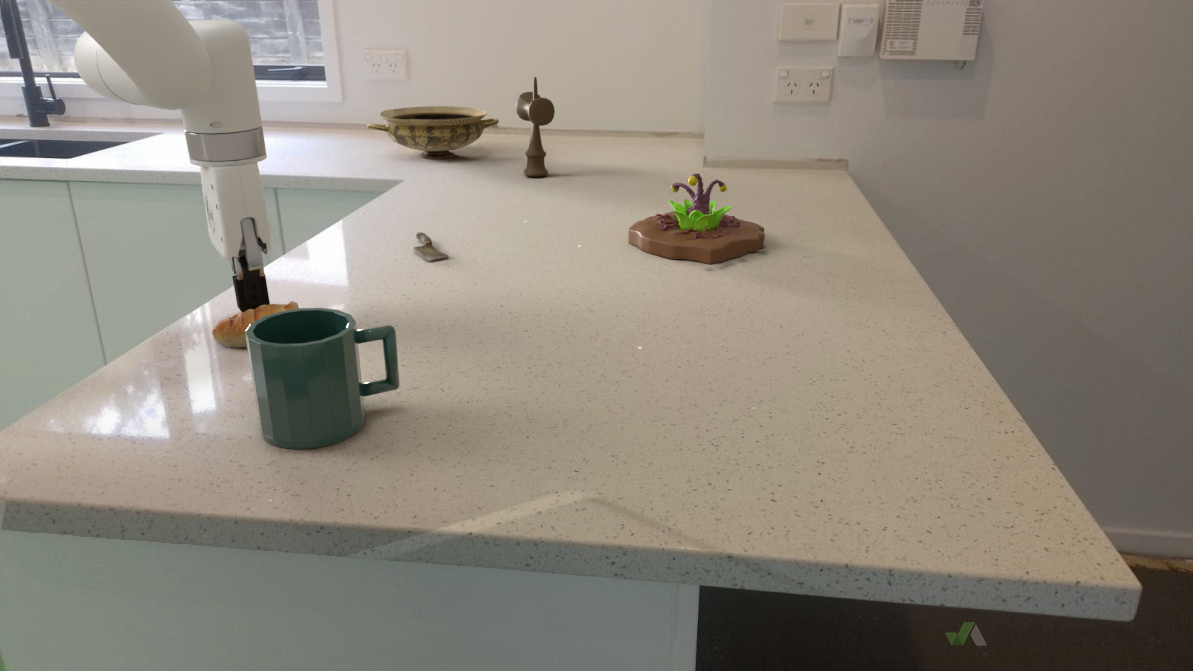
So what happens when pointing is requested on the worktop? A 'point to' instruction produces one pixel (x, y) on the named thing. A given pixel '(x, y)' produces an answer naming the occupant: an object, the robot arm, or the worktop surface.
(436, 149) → the ceramic bowl
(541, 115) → the kendama
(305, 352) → the mug
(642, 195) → the worktop surface
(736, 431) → the worktop surface
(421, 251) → the meat cleaver
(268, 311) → the pastry
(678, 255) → the plant
